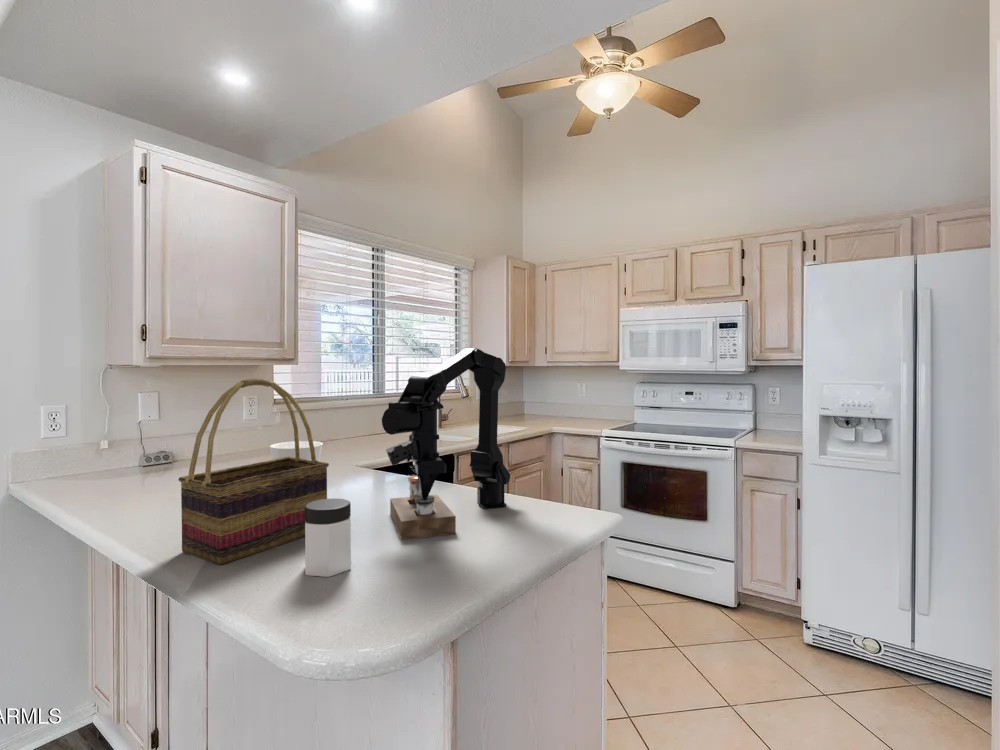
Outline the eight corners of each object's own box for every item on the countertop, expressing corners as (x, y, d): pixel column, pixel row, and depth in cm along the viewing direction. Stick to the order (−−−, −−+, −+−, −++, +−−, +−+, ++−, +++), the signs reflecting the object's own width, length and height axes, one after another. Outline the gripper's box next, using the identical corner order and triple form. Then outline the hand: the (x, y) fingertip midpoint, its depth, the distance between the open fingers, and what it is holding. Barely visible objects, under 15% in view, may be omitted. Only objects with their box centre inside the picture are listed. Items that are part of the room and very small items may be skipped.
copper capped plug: (424, 501, 128) (424, 474, 128) (427, 506, 124) (427, 478, 124) (407, 503, 127) (406, 476, 127) (409, 507, 123) (409, 479, 123)
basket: (218, 568, 94) (216, 380, 94) (176, 553, 102) (174, 379, 101) (331, 528, 117) (330, 377, 117) (290, 519, 125) (289, 376, 124)
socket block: (437, 509, 132) (437, 494, 132) (455, 533, 113) (455, 516, 113) (390, 514, 128) (390, 498, 128) (401, 539, 109) (401, 521, 109)
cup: (258, 505, 137) (257, 446, 137) (296, 493, 150) (296, 439, 149) (297, 510, 132) (297, 449, 132) (333, 497, 145) (333, 442, 144)
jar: (337, 555, 100) (337, 495, 100) (361, 566, 95) (361, 502, 95) (294, 569, 93) (293, 505, 93) (317, 581, 88) (317, 513, 88)
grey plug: (432, 523, 119) (432, 494, 119) (436, 529, 115) (436, 499, 115) (413, 525, 117) (413, 496, 117) (416, 531, 113) (416, 500, 113)
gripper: (384, 426, 122) (384, 491, 122) (393, 436, 104) (394, 512, 105) (429, 424, 126) (430, 487, 126) (446, 434, 108) (447, 507, 108)
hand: (424, 497), depth 116 cm, fingers closed, pressing on grey plug
